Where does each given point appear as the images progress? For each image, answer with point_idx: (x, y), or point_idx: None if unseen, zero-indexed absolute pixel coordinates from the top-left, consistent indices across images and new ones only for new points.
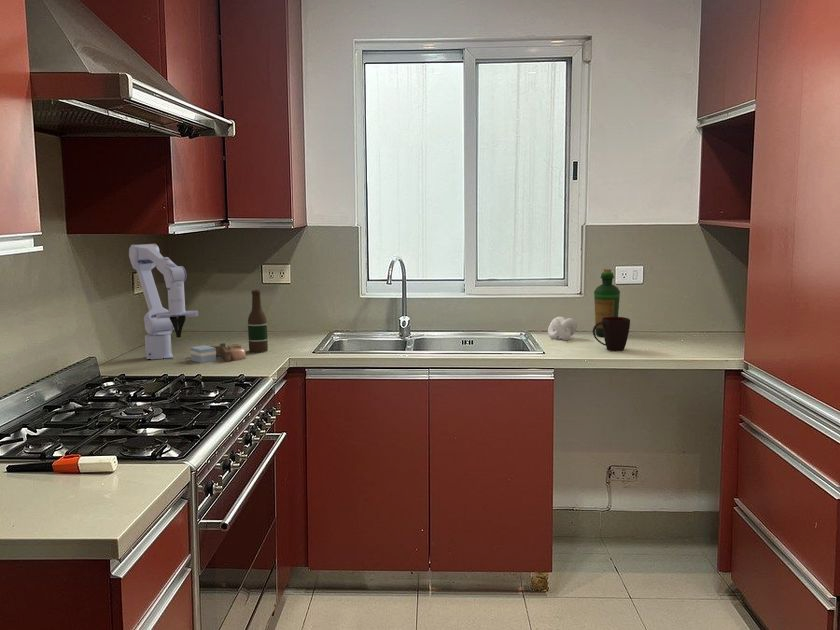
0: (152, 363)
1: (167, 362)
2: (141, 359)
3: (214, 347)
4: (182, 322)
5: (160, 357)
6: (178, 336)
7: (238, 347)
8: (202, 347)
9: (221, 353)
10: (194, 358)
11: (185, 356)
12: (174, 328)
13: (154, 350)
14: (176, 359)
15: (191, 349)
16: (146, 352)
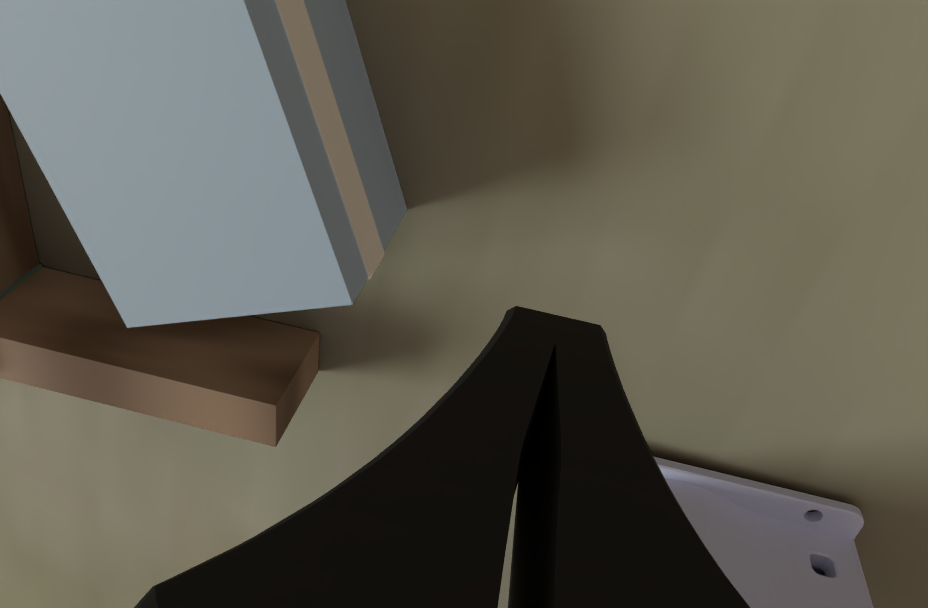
0: (921, 306)
1: (724, 248)
2: (882, 574)
3: (45, 339)
4: (320, 564)
5: (704, 487)
6: (564, 326)
7: None
8: (168, 165)
9: (18, 258)
10: (365, 124)
11: None
12: (671, 513)
13: (775, 588)
14: None
15: (351, 253)
16: (871, 601)
